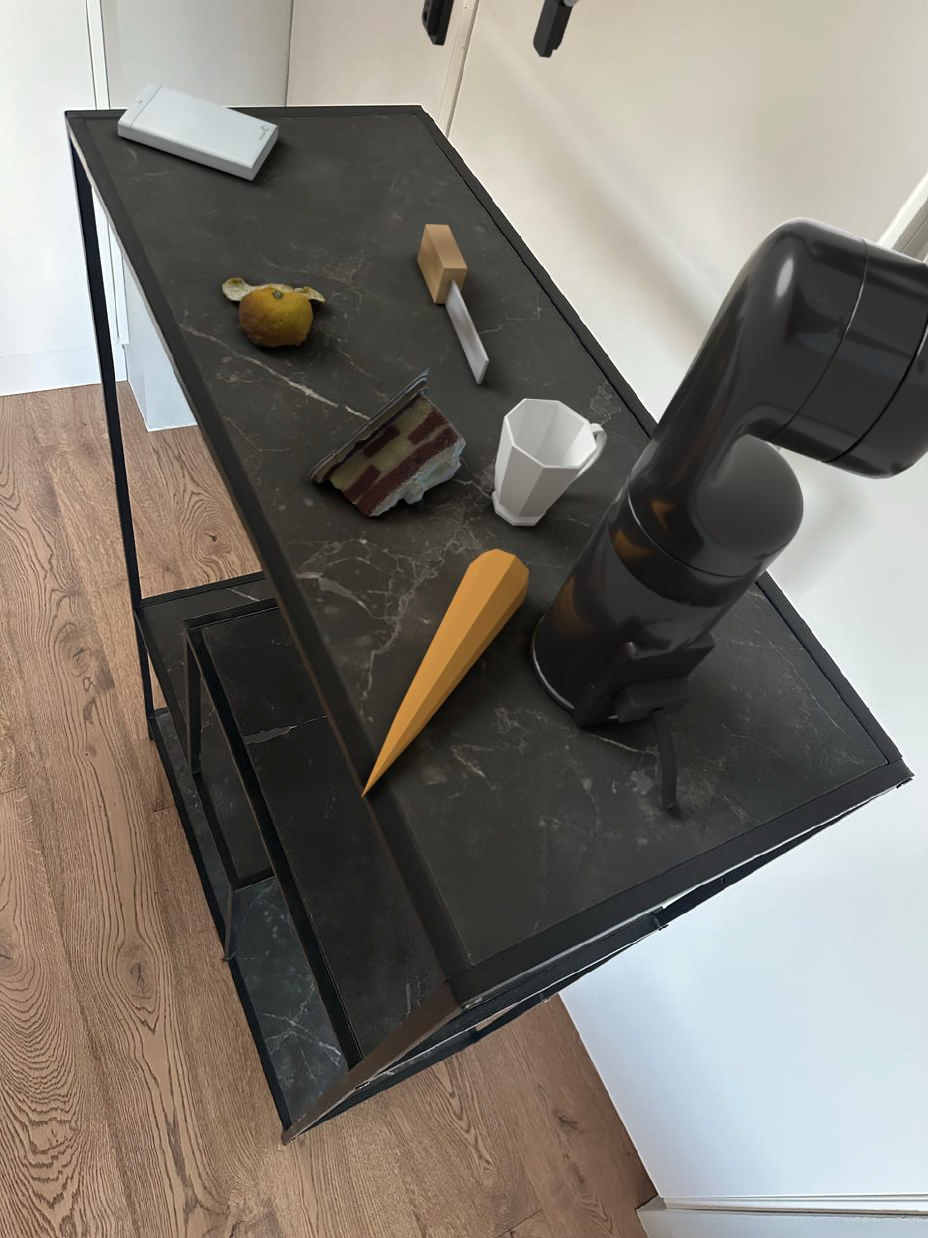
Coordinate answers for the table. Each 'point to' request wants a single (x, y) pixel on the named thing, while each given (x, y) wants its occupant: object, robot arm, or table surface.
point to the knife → (451, 289)
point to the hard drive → (198, 130)
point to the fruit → (273, 311)
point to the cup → (541, 458)
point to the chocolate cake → (395, 453)
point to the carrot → (457, 645)
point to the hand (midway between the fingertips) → (488, 45)
